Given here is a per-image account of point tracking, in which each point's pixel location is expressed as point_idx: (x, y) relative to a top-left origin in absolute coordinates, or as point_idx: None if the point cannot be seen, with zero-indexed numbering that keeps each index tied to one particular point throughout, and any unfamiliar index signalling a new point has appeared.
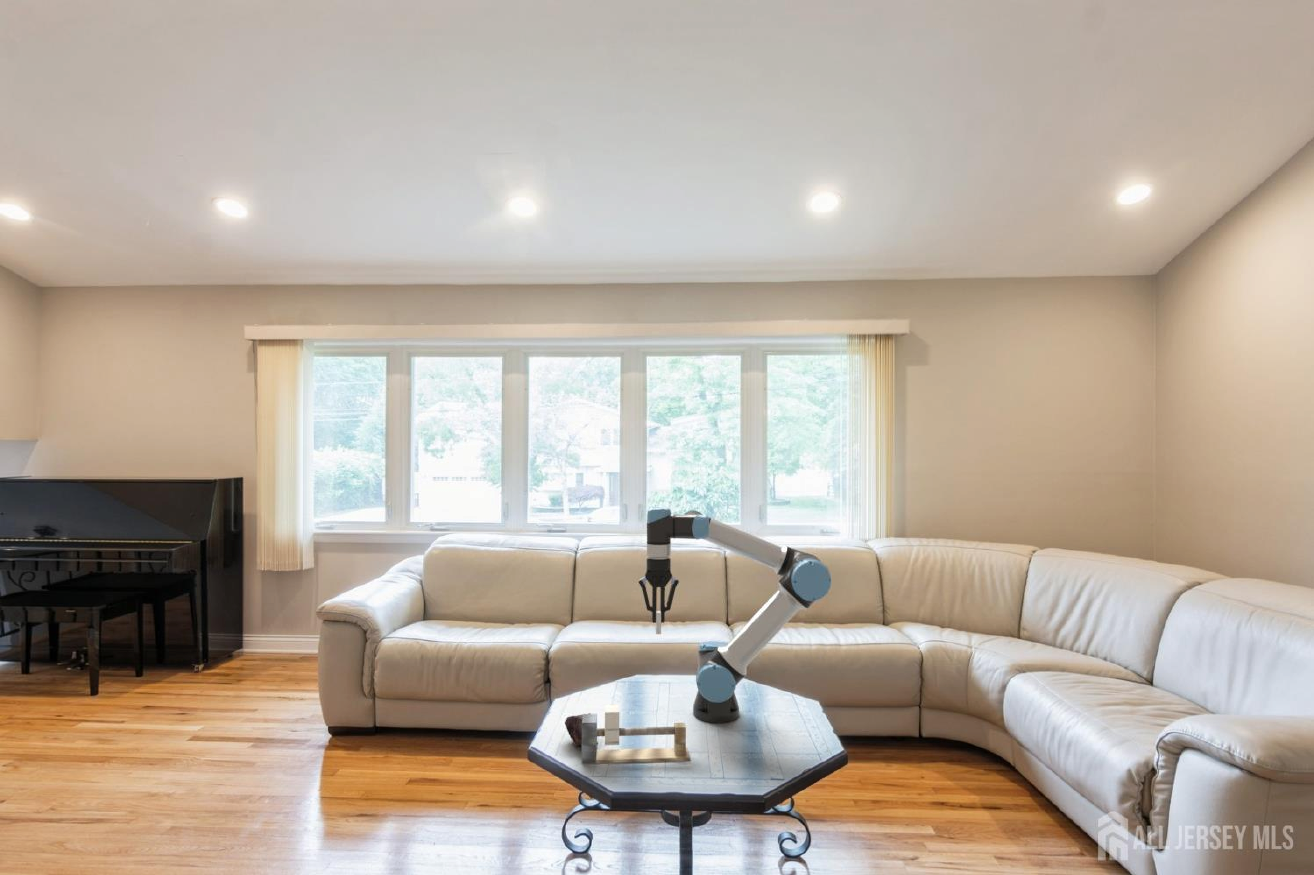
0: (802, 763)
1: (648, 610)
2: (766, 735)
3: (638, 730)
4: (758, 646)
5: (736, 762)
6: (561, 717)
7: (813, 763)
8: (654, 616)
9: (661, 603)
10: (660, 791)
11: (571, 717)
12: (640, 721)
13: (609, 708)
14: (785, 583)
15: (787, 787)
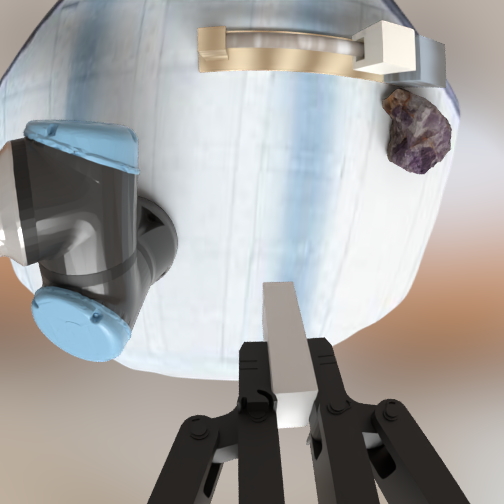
0: (27, 61)
1: (389, 400)
2: None
3: (317, 36)
4: None
5: (115, 38)
6: (423, 234)
7: (15, 66)
8: (323, 373)
9: (275, 475)
10: None
11: (450, 127)
12: (289, 207)
13: (405, 48)
14: None
15: None
